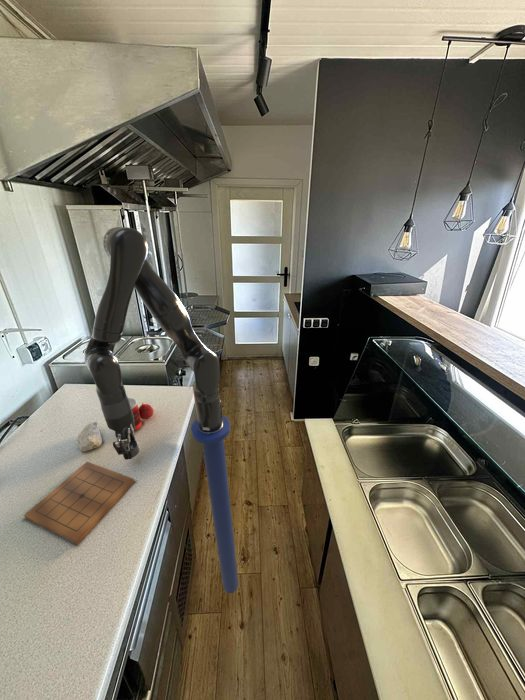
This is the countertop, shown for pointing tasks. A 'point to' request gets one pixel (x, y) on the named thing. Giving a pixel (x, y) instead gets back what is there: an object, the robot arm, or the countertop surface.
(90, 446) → the stone
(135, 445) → the black stone
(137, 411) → the canned food
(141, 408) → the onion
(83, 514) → the grid board
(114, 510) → the countertop surface
